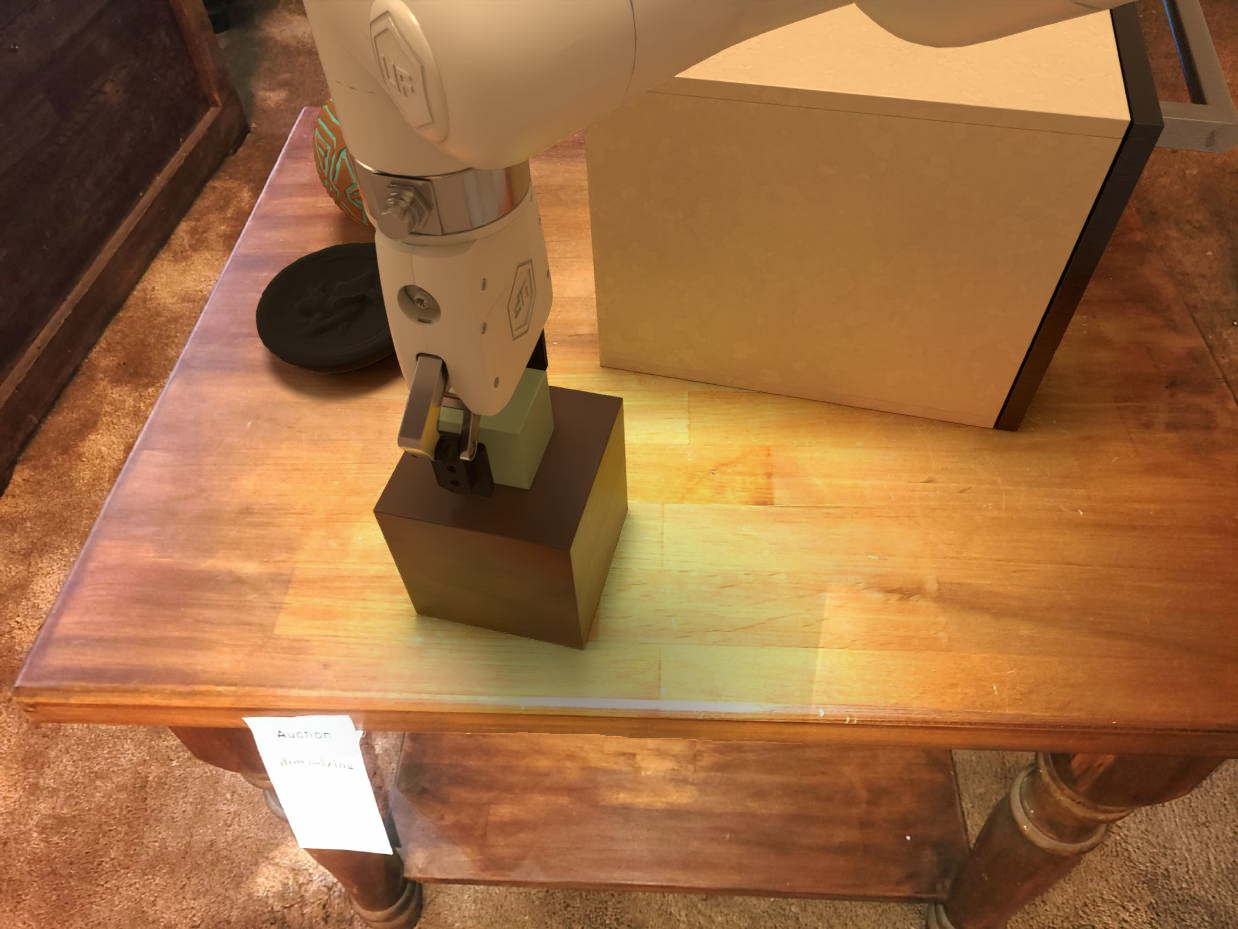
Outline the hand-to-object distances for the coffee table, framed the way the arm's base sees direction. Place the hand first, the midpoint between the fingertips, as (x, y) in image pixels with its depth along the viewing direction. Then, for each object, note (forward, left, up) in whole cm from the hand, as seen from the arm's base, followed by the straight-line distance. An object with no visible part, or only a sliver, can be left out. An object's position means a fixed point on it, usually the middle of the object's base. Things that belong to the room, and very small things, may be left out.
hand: (496, 425), depth 52 cm
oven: (-16, -40, -14) cm, 45 cm away
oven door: (-36, -40, -14) cm, 56 cm away
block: (0, 0, -2) cm, 2 cm away
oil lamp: (+20, -19, -15) cm, 31 cm away
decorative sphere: (+24, -36, -15) cm, 46 cm away
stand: (0, 0, -14) cm, 14 cm away
